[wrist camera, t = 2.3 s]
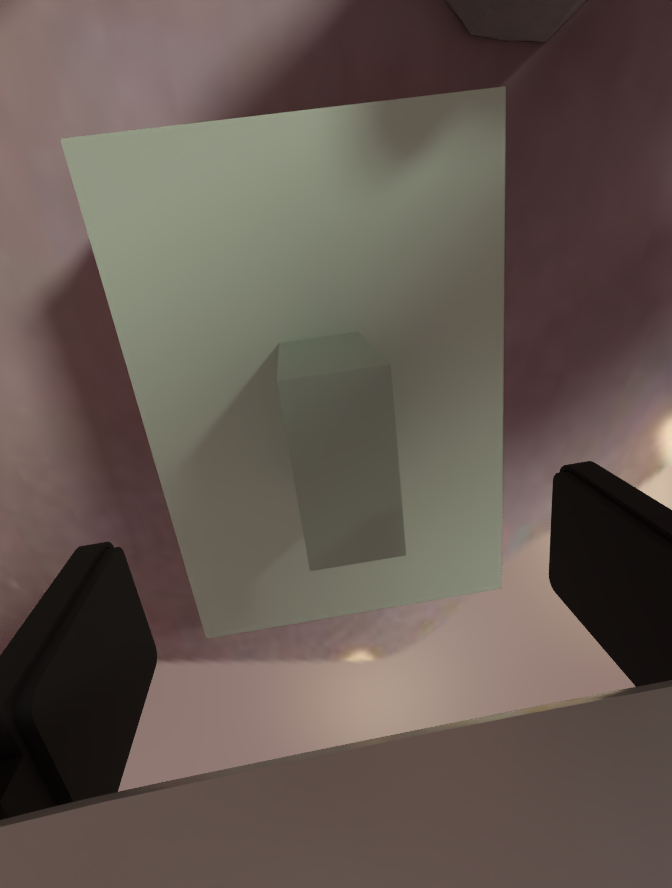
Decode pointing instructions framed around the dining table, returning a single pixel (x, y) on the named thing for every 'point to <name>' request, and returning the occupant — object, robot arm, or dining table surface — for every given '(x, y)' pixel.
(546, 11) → the coffeepot
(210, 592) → the lid
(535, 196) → the dining table surface
